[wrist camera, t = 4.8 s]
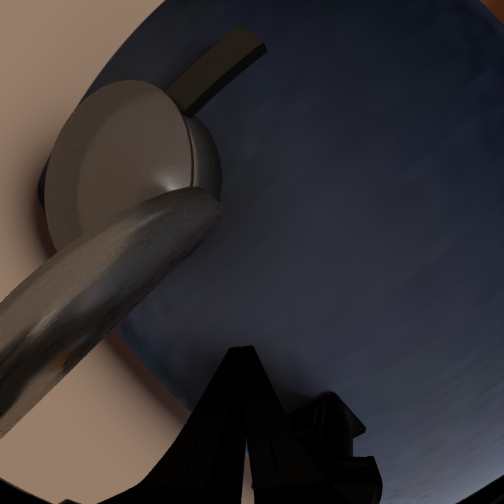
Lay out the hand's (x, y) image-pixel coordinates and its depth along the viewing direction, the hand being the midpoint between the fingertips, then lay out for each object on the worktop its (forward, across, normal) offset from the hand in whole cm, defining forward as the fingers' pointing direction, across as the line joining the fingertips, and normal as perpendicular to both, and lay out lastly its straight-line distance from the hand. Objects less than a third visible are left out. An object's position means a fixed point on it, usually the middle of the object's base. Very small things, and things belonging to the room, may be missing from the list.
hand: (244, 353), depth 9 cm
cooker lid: (+1, +8, -1) cm, 8 cm away
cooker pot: (+19, +7, -4) cm, 21 cm away
